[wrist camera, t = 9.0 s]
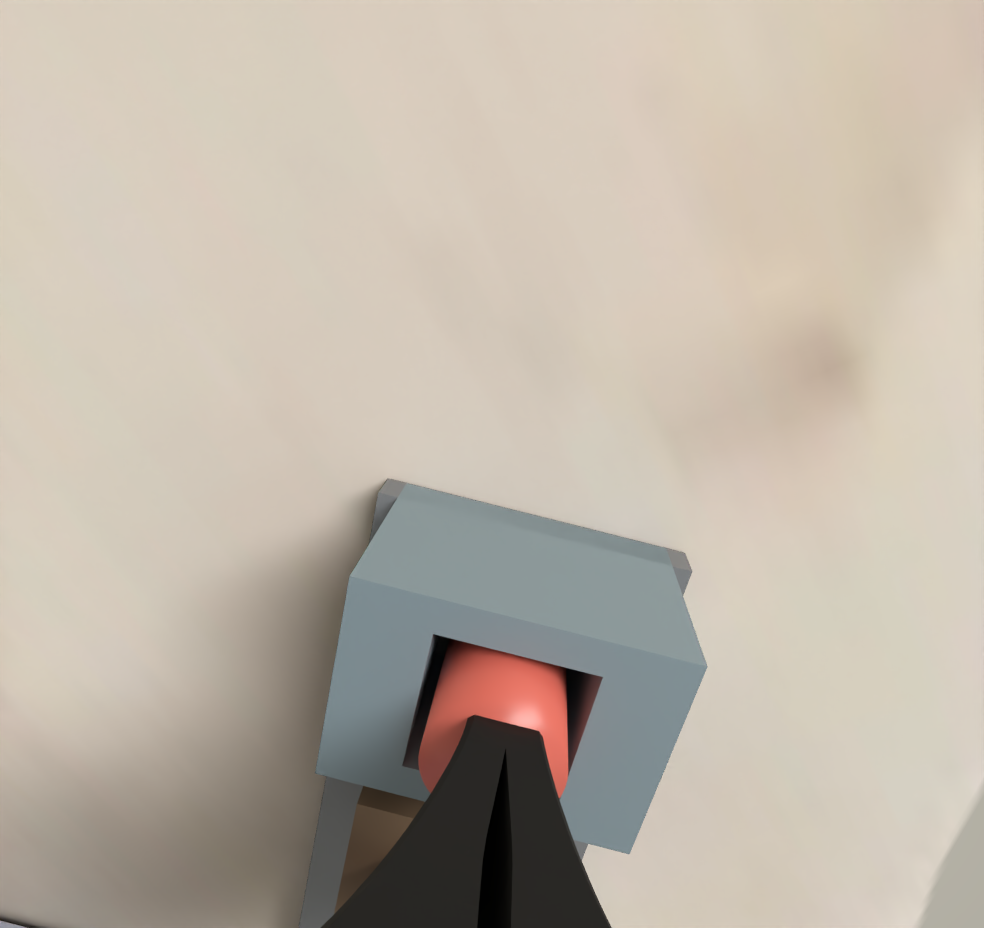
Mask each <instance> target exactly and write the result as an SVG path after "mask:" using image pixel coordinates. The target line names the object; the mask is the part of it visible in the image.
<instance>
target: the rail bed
mask: <svg viewBox="0 0 984 928" xmlns="http://www.w3.org/2000/svg"><path fill="white" fill-rule="evenodd" d="M691 573H692V569H691V567H690V564H689V562H688V559H687V557H686V554H685V553H683V552H679V551H675V550H671V549H667V548H663V547H659V546H655V545H651V544H647V543H643V542H639V541H635V540H632V539H628V538H624V537H620V536H616V535H612V534H608V533H604V532H600V531H596V530H592V529H588V528H584V527H580V526H576V525H572V524H568V523H564V522H560V521H556V520H552V519H548V518H544V517H540V516H536V515H532V514H528V513H524V512H520V511H516V510H512V509H508V508H504V507H500V506H496V505H492V504H488V503H484V502H480V501H476V500H472V499H468V498H464V497H460V496H456V495H452V494H448V493H444V492H440V491H436V490H432V489H428V488H424V487H420V486H416V485H412V484H408V483H404V482H400V481H396V480H392V479H387V481H386V482H385V484H384V485H383V487H382V488H381V489H380V491H379V492H378V497H377V503H376V508H375V514H374V519H373V525H372V530H371V535H370V541H369V545H368V547H367V549H366V550H365V552H364V553H363V555H362V557H361V558H360V560H359V562H358V563H357V565H356V567H355V568H354V570H353V571H352V573H351V575H350V577H349V583H348V588H347V594H346V600H345V605H344V611H343V617H342V623H341V628H340V634H339V640H338V645H337V651H336V657H335V663H334V668H333V674H332V680H331V685H330V691H329V697H328V703H327V708H326V714H325V720H324V725H323V731H322V737H321V743H320V748H319V754H318V760H317V765H316V771H315V773H316V774H319V775H323V776H326V781H325V787H324V792H323V798H322V803H321V808H320V814H319V819H318V825H317V830H316V836H315V841H314V847H313V852H312V858H311V863H310V869H309V874H308V879H307V885H306V890H305V896H304V901H303V907H302V912H301V918H300V923H299V928H321V927H322V926H323V925H324V924H325V923H326V922H327V921H328V920H329V919H330V918H331V917H332V916H333V915H334V911H335V907H336V902H337V897H338V892H339V887H340V883H341V878H342V873H343V868H344V863H345V859H346V854H347V849H348V844H349V839H350V835H351V830H352V825H353V820H354V815H355V811H356V806H357V802H358V799H359V797H360V794H361V791H362V788H363V786H366V787H370V788H374V789H378V790H382V791H386V792H389V793H393V794H397V795H401V796H405V797H409V798H413V799H417V800H420V801H424V802H425V801H426V800H427V799H428V797H429V795H430V792H429V791H428V789H427V788H426V786H425V784H424V782H423V780H422V777H421V774H420V770H419V762H418V757H419V750H420V746H421V742H422V739H423V735H424V731H425V728H426V724H427V720H428V716H429V713H430V709H431V705H432V702H433V698H434V694H435V690H436V687H437V683H438V679H439V676H440V672H441V668H442V664H443V661H444V657H445V653H446V650H447V646H448V642H449V638H451V639H455V640H459V641H463V642H467V643H471V644H474V645H478V646H482V647H486V648H490V649H494V650H498V651H502V652H506V653H510V654H514V655H518V656H522V657H526V658H530V659H534V660H538V661H541V662H545V663H549V664H553V665H557V666H561V667H565V668H566V680H567V731H568V780H567V783H566V787H565V789H564V791H563V794H562V795H561V797H560V798H559V800H560V803H561V806H562V809H563V812H564V815H565V818H566V820H567V823H568V826H569V829H570V832H571V835H572V838H573V840H574V843H575V846H576V848H577V851H578V853H579V856H580V858H581V861H582V858H583V856H584V853H585V850H586V848H587V845H588V844H591V845H595V846H599V847H603V848H607V849H611V850H615V851H619V852H622V853H626V854H630V852H631V849H632V847H633V844H634V842H635V840H636V837H637V835H638V832H639V830H640V828H641V825H642V823H643V820H644V818H645V815H646V813H647V811H648V808H649V806H650V803H651V801H652V799H653V796H654V794H655V791H656V789H657V787H658V784H659V782H660V779H661V777H662V775H663V772H664V770H665V767H666V765H667V763H668V760H669V758H670V755H671V753H672V751H673V748H674V746H675V743H676V741H677V739H678V736H679V734H680V731H681V729H682V727H683V724H684V722H685V719H686V717H687V714H688V712H689V710H690V707H691V705H692V702H693V700H694V698H695V695H696V693H697V690H698V688H699V686H700V683H701V681H702V678H703V676H704V674H705V671H706V669H707V664H706V661H705V658H704V656H703V653H702V650H701V647H700V644H699V641H698V638H697V635H696V633H695V630H694V627H693V624H692V621H691V618H690V615H689V612H688V609H687V607H686V604H685V601H684V598H683V594H684V592H685V589H686V586H687V584H688V581H689V579H690V576H691Z"/></svg>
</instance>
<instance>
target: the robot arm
mask: <svg viewBox="0 0 984 928" xmlns="http://www.w3.org/2000/svg"><path fill="white" fill-rule="evenodd" d="M0 928H27V927H24V926H20V925H16V924H12V923H8V922H4V921H1V920H0ZM321 928H611V926H610V924H609V922H608V920H607V917H606V915H605V913H604V911H603V909H602V907H601V905H600V903H599V901H598V898H597V896H596V894H595V892H594V889H593V887H592V885H591V883H590V880H589V878H588V875H587V873H586V871H585V868H584V866H583V863H582V861H581V858H580V856H579V853H578V851H577V848H576V846H575V843H574V840H573V838H572V835H571V832H570V829H569V826H568V823H567V820H566V818H565V815H564V812H563V809H562V806H561V803H560V800H559V797H558V793H557V790H556V787H555V783H554V780H553V776H552V773H551V769H550V765H549V762H548V758H547V754H546V749H545V745H544V740H543V736H542V735H541V733H540V732H539V731H537V730H533V729H529V728H525V727H521V726H517V725H513V724H509V723H505V722H501V721H497V720H493V719H490V718H486V717H482V716H478V715H473V716H471V717H468V718H467V722H466V726H465V729H464V731H463V734H462V737H461V739H460V741H459V744H458V746H457V748H456V750H455V752H454V754H453V756H452V758H451V760H450V762H449V763H448V765H447V767H446V769H445V770H444V772H443V774H442V775H441V777H440V779H439V781H438V782H437V784H436V786H435V787H434V789H433V791H432V792H431V794H430V795H429V797H428V799H427V800H426V801H425V803H424V804H423V806H422V807H421V809H420V810H419V812H418V813H417V815H416V816H415V817H414V819H413V820H412V822H411V823H410V825H409V826H408V828H407V829H406V830H405V832H404V833H403V834H402V836H401V837H400V838H399V840H398V841H397V842H396V844H395V845H394V846H393V847H392V849H391V850H390V851H389V852H388V854H387V855H386V856H385V857H384V859H383V860H382V861H381V862H380V864H379V865H378V866H377V867H376V868H375V870H374V871H373V872H372V873H371V874H370V875H369V876H368V878H367V879H366V880H365V881H364V882H363V883H362V884H361V886H360V887H359V888H358V889H357V890H356V891H355V892H354V893H353V895H352V896H351V897H350V898H349V899H348V900H347V901H346V902H345V903H344V904H343V905H342V906H341V908H340V909H339V910H338V911H337V912H336V913H335V914H334V915H333V916H332V917H331V918H330V919H329V920H328V921H327V922H326V923H325V924H324V925H323V926H322V927H321Z"/></svg>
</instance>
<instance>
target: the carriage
mask: <svg viewBox="0 0 984 928" xmlns="http://www.w3.org/2000/svg"><path fill="white" fill-rule="evenodd" d="M424 803H425V802H424V801H420V800H417V799H413V798H409V797H405V796H401V795H397V794H393V793H389V792H386V791H382V790H378V789H374V788H370V787H366V786H363V788H362V791H361V794H360V797H359V799H358V802H357V806H356V811H355V815H354V820H353V825H352V830H351V835H350V839H349V844H348V849H347V854H346V859H345V863H344V868H343V873H342V878H341V883H340V887H339V892H338V897H337V902H336V907H335V911H334V914H335V913H336V912H337V911H338V910H339V909H340V908H341V906H342V905H343V904H344V903H345V902H346V901H347V900H348V899H349V898H350V897H351V896H352V895H353V893H354V892H355V891H356V890H357V889H358V888H359V887H360V886H361V884H362V883H363V882H364V881H365V880H366V879H367V878H368V876H369V875H370V874H371V873H372V872H373V871H374V870H375V868H376V867H377V866H378V865H379V864H380V862H381V861H382V860H383V859H384V857H385V856H386V855H387V854H388V852H389V851H390V850H391V849H392V847H393V846H394V845H395V844H396V842H397V841H398V840H399V838H400V837H401V836H402V834H403V833H404V832H405V830H406V829H407V828H408V826H409V825H410V823H411V822H412V820H413V819H414V817H415V816H416V815H417V813H418V812H419V810H420V809H421V807H422V806H423V804H424Z"/></svg>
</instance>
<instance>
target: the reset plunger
mask: <svg viewBox="0 0 984 928" xmlns="http://www.w3.org/2000/svg"><path fill="white" fill-rule="evenodd" d="M473 715H478V716H482V717H486V718H490V719H493V720H497V721H501V722H505V723H509V724H513V725H517V726H521V727H525V728H529V729H533V730H537V731H539V732H540V733H541V735H542V736H543V740H544V745H545V749H546V754H547V758H548V762H549V765H550V769H551V773H552V776H553V780H554V783H555V787H556V790H557V793H558V797H559V798H560V797H561V795H562V794H563V791H564V789H565V787H566V783H567V780H568V731H567V680H566V668H565V667H561V666H557V665H553V664H549V663H545V662H541V661H538V660H534V659H530V658H526V657H522V656H518V655H514V654H510V653H506V652H502V651H498V650H494V649H490V648H486V647H482V646H478V645H474V644H471V643H467V642H463V641H459V640H455V639H451V638H449V642H448V646H447V650H446V653H445V657H444V661H443V664H442V668H441V672H440V676H439V679H438V683H437V687H436V690H435V694H434V698H433V702H432V705H431V709H430V713H429V716H428V720H427V724H426V728H425V731H424V735H423V739H422V742H421V746H420V750H419V757H418V762H419V770H420V774H421V777H422V780H423V782H424V784H425V786H426V788H427V789H428V791H429V792H430V794H431V792H432V791H433V789H434V787H435V786H436V784H437V782H438V781H439V779H440V777H441V775H442V774H443V772H444V770H445V769H446V767H447V765H448V763H449V762H450V760H451V758H452V756H453V754H454V752H455V750H456V748H457V746H458V744H459V741H460V739H461V737H462V734H463V731H464V729H465V726H466V722H467V718H468V717H471V716H473Z"/></svg>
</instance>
